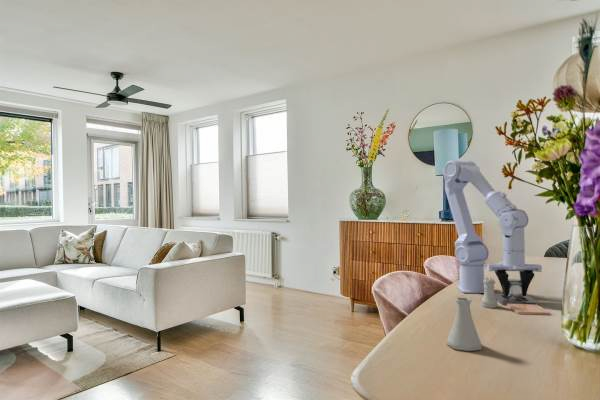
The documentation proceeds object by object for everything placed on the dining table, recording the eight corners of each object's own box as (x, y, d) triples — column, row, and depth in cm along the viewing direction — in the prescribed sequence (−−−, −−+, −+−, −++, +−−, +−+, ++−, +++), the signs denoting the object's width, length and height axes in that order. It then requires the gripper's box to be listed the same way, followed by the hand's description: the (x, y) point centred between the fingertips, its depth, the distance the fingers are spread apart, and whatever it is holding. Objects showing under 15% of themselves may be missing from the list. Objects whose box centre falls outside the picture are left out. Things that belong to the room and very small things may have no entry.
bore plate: (491, 296, 124) (491, 293, 124) (526, 296, 122) (526, 294, 122) (502, 304, 114) (502, 301, 114) (539, 305, 112) (539, 302, 112)
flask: (442, 339, 88) (441, 294, 88) (476, 339, 87) (475, 294, 87) (450, 351, 81) (450, 303, 80) (487, 352, 80) (487, 303, 80)
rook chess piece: (500, 308, 110) (499, 280, 110) (483, 308, 111) (482, 279, 111) (495, 304, 114) (495, 277, 114) (479, 303, 115) (478, 276, 115)
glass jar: (503, 298, 121) (503, 279, 121) (519, 298, 120) (519, 279, 120) (508, 302, 116) (508, 282, 116) (525, 302, 115) (525, 282, 115)
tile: (507, 305, 113) (506, 303, 113) (537, 306, 111) (537, 304, 111) (517, 313, 105) (517, 311, 105) (550, 314, 104) (550, 312, 104)
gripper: (491, 251, 115) (492, 298, 115) (546, 252, 113) (546, 299, 113) (485, 248, 122) (485, 292, 122) (535, 248, 120) (536, 293, 120)
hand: (514, 295), depth 118 cm, fingers closed on glass jar, 4 cm apart
